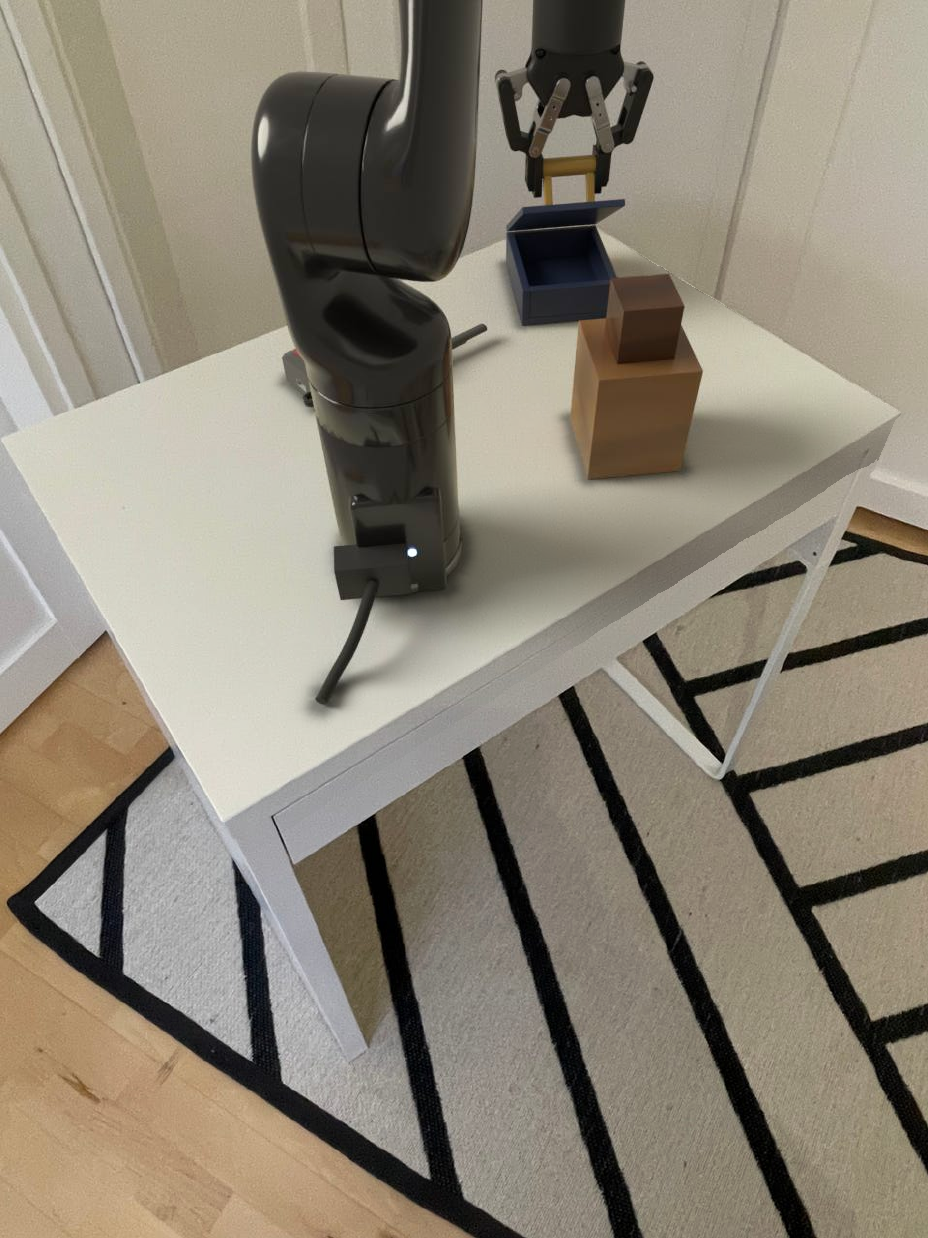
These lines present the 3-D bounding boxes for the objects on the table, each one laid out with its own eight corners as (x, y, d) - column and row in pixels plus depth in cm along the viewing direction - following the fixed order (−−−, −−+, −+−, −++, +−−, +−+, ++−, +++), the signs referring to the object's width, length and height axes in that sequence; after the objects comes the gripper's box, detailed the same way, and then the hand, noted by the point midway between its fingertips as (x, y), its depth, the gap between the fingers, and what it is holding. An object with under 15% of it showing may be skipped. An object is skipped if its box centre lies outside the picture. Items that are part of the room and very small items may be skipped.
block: (674, 359, 66) (684, 305, 62) (616, 364, 65) (623, 311, 62) (660, 325, 68) (669, 272, 65) (604, 330, 68) (610, 277, 65)
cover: (625, 205, 79) (624, 147, 78) (522, 213, 79) (519, 155, 77) (596, 224, 91) (594, 174, 89) (506, 231, 90) (503, 181, 89)
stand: (680, 470, 72) (703, 370, 64) (587, 479, 72) (598, 380, 64) (657, 411, 77) (675, 311, 69) (569, 419, 77) (578, 320, 69)
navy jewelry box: (615, 317, 87) (619, 282, 84) (521, 325, 86) (522, 291, 83) (592, 258, 94) (595, 224, 91) (505, 265, 93) (506, 231, 90)
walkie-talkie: (322, 429, 77) (493, 343, 84) (314, 388, 74) (493, 303, 81) (272, 383, 81) (438, 306, 89) (262, 343, 78) (436, 266, 85)
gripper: (497, -7, 66) (496, 215, 79) (680, -17, 66) (649, 204, 79) (486, -33, 71) (486, 180, 84) (656, -43, 71) (631, 170, 84)
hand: (566, 191), depth 81 cm, fingers closed on cover, 5 cm apart
